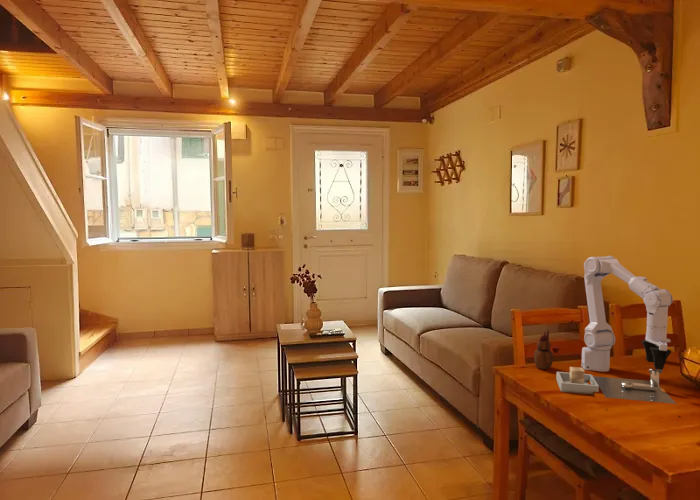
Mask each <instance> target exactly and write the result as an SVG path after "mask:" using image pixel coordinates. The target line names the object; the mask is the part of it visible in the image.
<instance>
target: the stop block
mask: <svg viewBox="0 0 700 500" xmlns="http://www.w3.org/2000/svg"><path fill="white" fill-rule="evenodd" d="M585 371H586V370H584V368H583V367H579V366H578V367H576V366H569V373H570V377H569V383H576V384H584V374H586V372H585Z"/></svg>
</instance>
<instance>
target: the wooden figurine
mask: <svg viewBox="0 0 700 500" xmlns="http://www.w3.org/2000/svg"><path fill="white" fill-rule="evenodd" d="M549 332H550V330H547V332H546V331H544V332H543V334H541V336H540V337H539V340H537V341H536V349H535V350H534V353H533V360H534V364H535V367H536V368H538V369H540V370H549V369H550V368H551V367H552V365H553V363H554V354H553V352H552V350H551V342H550V338H549V335H550V334H549Z"/></svg>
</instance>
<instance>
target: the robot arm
mask: <svg viewBox="0 0 700 500" xmlns="http://www.w3.org/2000/svg"><path fill="white" fill-rule="evenodd" d="M583 269H584V279H583V280H584V287H585V294H586V302H587V310H588V316H589V317H588V318H589V323H588V325H587V326H586V327H585V328H584V336H583V337H584V338H583V341H584V343H585V345H586V346H584V347H582V348H581V364H580V365H581V366H580V367H581V368H583V370H584V371H596V372H604V373H605V372H609V371H610V361H611V359H610V358H611V357H610V356H611V355H610V354H611V349H612V347H613V345H615V343H616V336H615V333H614V332H613V329H612V326H611V325H610V324H609V323H608V322H607V319H606V312H605V311H606V310H605V304H604V298H603V297H604V295H603V290H602V283H601V282H602V281H603V279H604V278H606V277H607V276H608V275H610V274H612V275H614V276H615V277H617V278H618V279H620V280H622V281H623V282H625V283H626V284H627V285H628V289H629V291H632V292H633V293H634V294H636V295H637V296H638V297H640V298H641V299H642V300H643V303H644V305H645V310H646V312H647V313H646V331H645V338H644V339H642V340H641V345H643V348H644V351H645V358H646V357H647V360H646V361H647V362H648V363H653V366H654V369H658V370H662V371H663V370H664V368H665V364H666V361H667V360H668V358H669V356H670V355H671V354H672V350H671V349H668V343H671V339H670V338H667V336H668V335H667V334H668V332H667V331H668V318H669V317H668V316H669V314H668V311H669V307H670V306H671V304H673V301H674V300H673V298H674V297H673V295H672V294H671V292H670V291H669V290H668V289H665V288H662V289H660V288H659V286H657V285H654V284H653V283H651V282H650V281H649V280H648V278H647V277H646V276H641V275H640V276H636V275H634V274H633V273H632V272H631V271H630V270H628V269H627V268H626V267H625V266H623V265H622V264H621V263H620V261H619V260H618V259H616V258H615V257H614V256H612V255H607V256H590V257H587V259H586V260H585V261H584V262H583Z"/></svg>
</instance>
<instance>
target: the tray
mask: <svg viewBox="0 0 700 500" xmlns="http://www.w3.org/2000/svg"><path fill="white" fill-rule="evenodd" d="M593 376H594V375H593V374H590V373H589V374H588V373H584V384H576V383H569V377H570V372H567V371H566V372H564V371H556V376H555V377H556V378H555V380H556V382H557V385H558V388H559V391H560V392H563V393H571V394H573V393H574V394H583V395H585V394H586V395H595V393H599V392H600V387H599V386H598V384H597V382H596V381H595V379H594V378H593ZM588 381H589V382H590V384H589V383H588Z"/></svg>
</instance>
